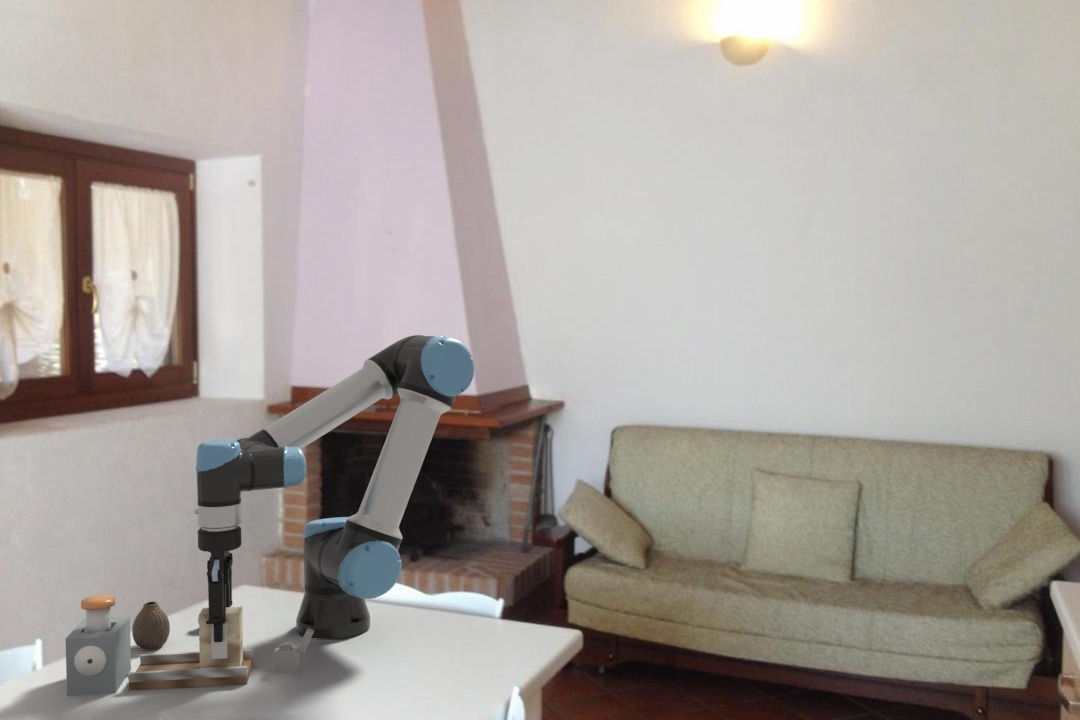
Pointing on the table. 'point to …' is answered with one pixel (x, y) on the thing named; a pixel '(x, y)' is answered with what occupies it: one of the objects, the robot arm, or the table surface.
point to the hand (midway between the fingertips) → (221, 653)
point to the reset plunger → (98, 612)
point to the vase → (151, 627)
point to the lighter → (290, 655)
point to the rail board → (186, 672)
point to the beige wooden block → (232, 639)
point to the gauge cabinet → (98, 658)
